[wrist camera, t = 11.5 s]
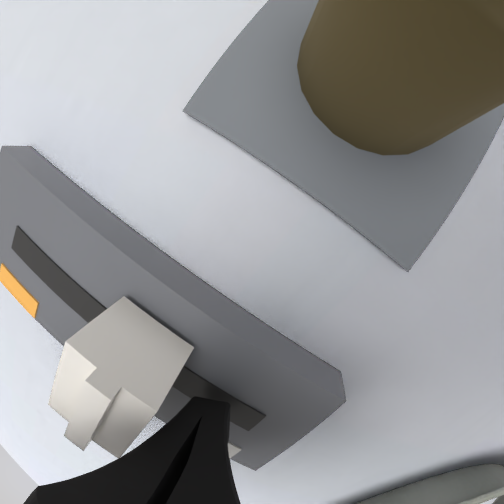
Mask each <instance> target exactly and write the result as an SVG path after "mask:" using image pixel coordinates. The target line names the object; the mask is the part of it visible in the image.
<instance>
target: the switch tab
mask: <svg viewBox="0 0 504 504" xmlns="http://www.w3.org/2000/svg"><path fill="white" fill-rule="evenodd" d="M193 349H194V347H193V346H192V345H190V344H189V343H187V342H186V341H184V340H183V339H181V338H180V337H179V336H177V335H176V334H174V333H173V332H171V331H170V330H169V329H167V328H166V327H164V326H163V325H162V324H160V323H159V322H158V321H156V320H155V319H154V318H152V317H151V316H150V315H148V314H147V313H146V312H144V311H143V310H142V309H140V308H139V307H138V306H136V305H135V304H134V303H132V302H131V301H130V300H129V299H127V298H126V297H125V296H123V297H122V298H121V299H119V300H118V301H117V302H115V303H114V304H113V305H112V306H110V307H109V308H108V309H106V310H105V311H104V312H102V313H101V314H100V315H98V316H97V317H96V318H95V319H93V320H92V321H91V322H89V323H88V324H87V325H86V326H84V327H83V328H82V329H80V330H79V331H78V332H77V333H75V334H74V335H73V336H72V337H70V338H69V339H68V340H66V342H65V345H64V348H63V351H62V355H61V358H60V361H59V365H58V368H57V372H56V375H55V379H54V383H53V387H52V390H51V394H50V399H49V403H48V405H49V406H50V407H51V408H52V409H54V410H55V411H56V412H57V413H58V414H59V415H61V416H62V417H63V418H64V419H65V420H67V421H68V422H69V423H68V426H67V429H66V431H65V434H64V436H65V437H66V438H67V439H68V440H70V441H71V442H72V443H74V444H75V445H76V446H78V447H79V448H80V449H82V450H83V451H84V450H85V448H86V447H87V446H88V444H89V443H90V442H91V440H92V441H94V442H95V443H97V444H98V445H99V446H101V447H102V448H104V449H105V450H107V451H108V452H110V453H111V454H113V455H114V456H116V457H117V458H120V457H121V456H122V454H123V453H124V452H125V451H126V450H127V448H128V447H129V446H130V445H131V443H132V442H133V441H134V440H135V439H136V437H137V436H138V435H139V434H140V432H141V431H142V430H143V429H144V427H145V426H146V425H147V424H148V422H149V421H150V420H151V419H152V418H153V416H154V415H155V414H156V413H157V411H158V409H159V408H160V406H161V404H162V403H163V401H164V399H165V397H166V396H167V394H168V392H169V390H170V389H171V387H172V385H173V383H174V382H175V380H176V378H177V376H178V375H179V373H180V371H181V370H182V368H183V366H184V364H185V363H186V361H187V359H188V357H189V356H190V354H191V352H192V351H193Z"/></svg>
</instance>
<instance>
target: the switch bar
mask: <svg viewBox="0 0 504 504" xmlns="http://www.w3.org/2000/svg"><path fill="white" fill-rule="evenodd" d="M0 281H1V282H2V284H3V285H4V286H5V287H6V288H7V289H8V290H9V292H10V293H11V294H12V295H13V296H14V297H15V298H16V299H17V301H18V302H19V303H20V304H21V305H22V306H23V307H24V308H25V309H26V310H27V311H28V312H29V313H30V314H31V315H32V316H33V318H35V319H36V320H37V321H38V322H39V323H40V324H41V325H42V326H43V327H44V328H45V329H46V330H47V331H48V332H49V333H50V334H51V335H52V336H53V337H54V338H55V339H56V340H58V341H59V342H60V343H61V344H62V345H63V346H64V345H65V342H66V340H68V339H69V338H70V337H72V336H73V335H74V334H75V333H77V332H78V331H79V330H80V329H82V328H83V327H84V326H86V325H87V324H88V323H89V322H91V321H92V320H93V319H95V318H96V317H97V316H98V315H100V314H101V313H102V312H104V311H105V310H106V309H108V308H109V307H110V306H112V305H113V304H114V303H115V302H117V301H118V300H119V299H121V298H122V297H123V296H125V297H126V298H127V299H129V300H130V301H131V302H132V303H134V304H135V305H136V306H138V307H139V308H140V309H142V310H143V311H144V312H146V313H147V314H148V315H150V316H151V317H152V318H154V319H155V320H156V321H158V322H159V323H160V324H162V325H163V326H164V327H166V328H167V329H169V330H170V331H171V332H173V333H174V334H176V335H177V336H179V337H180V338H181V339H183V340H184V341H186V342H187V343H189V344H190V345H192V346H193V347H194V349H193V351H192V352H191V354H190V356H189V357H188V359H187V361H186V363H185V364H184V366H183V368H182V370H181V371H180V373H179V375H178V376H177V378H176V380H175V382H174V383H173V385H172V387H171V389H170V390H169V392H168V394H167V396H166V397H165V399H164V401H163V403H162V404H161V406H160V408H159V409H158V411H157V413H156V414H155V415H154V416H155V417H157V418H159V419H160V420H162V421H163V422H165V423H166V424H167V423H168V422H169V421H170V420H171V419H172V418H173V417H174V416H175V415H176V414H177V413H178V412H179V411H180V410H181V409H182V408H183V407H184V406H185V405H186V404H187V403H188V402H189V401H190V400H191V399H192V398H193V397H194V396H197V397H202V398H207V399H212V400H218V401H224V402H228V403H229V404H230V405H231V408H230V430H229V441H228V452H229V459H232V460H234V461H236V462H238V463H240V464H242V465H244V466H246V467H249V468H251V469H253V470H255V471H256V470H257V469H259V468H260V467H262V466H263V465H265V464H266V463H268V462H269V461H271V460H272V459H274V458H275V457H276V456H278V455H279V454H281V453H282V452H283V451H285V450H286V449H288V448H289V447H290V446H292V445H293V444H294V443H296V442H297V441H298V440H300V439H301V438H302V437H304V436H305V435H306V434H307V433H309V432H310V431H311V430H313V429H314V428H315V427H316V426H318V425H319V424H320V423H321V422H322V421H324V420H325V419H326V418H327V417H329V416H330V415H331V414H332V413H333V412H334V411H336V410H337V409H338V408H339V407H340V406H341V405H342V404H344V403H345V402H346V397H345V392H344V386H343V381H342V376H341V372H340V371H339V370H337V369H335V368H334V367H332V366H331V365H329V364H327V363H326V362H324V361H322V360H321V359H319V358H318V357H316V356H315V355H313V354H311V353H310V352H308V351H307V350H305V349H303V348H302V347H300V346H299V345H297V344H296V343H294V342H293V341H291V340H289V339H288V338H286V337H285V336H283V335H282V334H280V333H279V332H277V331H276V330H274V329H273V328H271V327H270V326H268V325H267V324H265V323H264V322H262V321H261V320H259V319H258V318H256V317H255V316H253V315H252V314H250V313H249V312H247V311H246V310H244V309H243V308H241V307H240V306H238V305H237V304H235V303H234V302H233V301H231V300H230V299H228V298H227V297H225V296H224V295H222V294H221V293H220V292H218V291H217V290H215V289H214V288H212V287H211V286H210V285H208V284H207V283H205V282H204V281H203V280H201V279H200V278H198V277H197V276H195V275H194V274H193V273H191V272H190V271H189V270H187V269H186V268H184V267H183V266H182V265H180V264H179V263H177V262H176V261H175V260H173V259H172V258H171V257H169V256H168V255H167V254H165V253H164V252H162V251H161V250H160V249H158V248H157V247H156V246H154V245H153V244H152V243H150V242H149V241H148V240H146V239H145V238H144V237H142V236H141V235H140V234H138V233H137V232H136V231H134V230H133V229H132V228H131V227H129V226H128V225H127V224H125V223H124V222H123V221H121V220H120V219H119V218H118V217H116V216H115V215H114V214H112V213H111V212H110V211H109V210H107V209H106V208H105V207H104V206H102V205H101V204H100V203H98V202H97V201H96V200H95V199H93V198H92V197H91V196H90V195H88V194H87V193H86V192H85V191H84V190H82V189H81V188H80V187H79V186H77V185H76V184H75V183H74V182H72V181H71V180H70V179H69V178H68V177H66V176H65V175H64V174H63V173H62V172H60V171H59V170H58V169H57V168H56V167H54V166H53V165H52V164H51V163H50V162H48V161H47V160H46V159H45V158H44V157H43V156H41V155H40V154H39V153H38V152H37V151H36V150H34V149H33V148H32V147H31V146H2V148H1V151H0Z"/></svg>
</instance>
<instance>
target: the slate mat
mask: <svg viewBox="0 0 504 504" xmlns="http://www.w3.org/2000/svg"><path fill="white" fill-rule="evenodd" d="M318 1H319V0H269V1H268V2H267V3H266V4H265V5H264V6H263V7H262V8H261V9H260V11H259V12H258V13H257V14H256V15H255V16H254V17H253V19H252V20H251V21H250V22H249V23H248V24H247V26H246V27H245V28H244V29H243V30H242V31H241V33H240V34H239V35H238V36H237V38H236V39H235V40H234V41H233V42H232V44H231V45H230V46H229V47H228V49H227V50H226V51H225V53H224V54H223V55H222V56H221V58H220V59H219V60H218V62H217V63H216V64H215V66H214V67H213V68H212V70H211V71H210V72H209V74H208V75H207V76H206V78H205V79H204V81H203V82H202V83H201V85H200V86H199V88H198V89H197V90H196V92H195V93H194V95H193V96H192V98H191V99H190V101H189V102H188V104H187V105H186V107H185V108H184V109H183V112H185V113H187V114H188V115H190V116H192V117H193V118H195V119H197V120H198V121H200V122H201V123H203V124H205V125H206V126H208V127H210V128H211V129H213V130H214V131H216V132H218V133H219V134H221V135H222V136H224V137H226V138H227V139H229V140H230V141H232V142H233V143H235V144H236V145H238V146H240V147H241V148H243V149H244V150H246V151H247V152H249V153H250V154H252V155H253V156H255V157H256V158H258V159H259V160H261V161H262V162H264V163H265V164H267V165H268V166H270V167H271V168H272V169H274V170H275V171H277V172H278V173H280V174H281V175H283V176H284V177H285V178H287V179H288V180H290V181H291V182H293V183H294V184H295V185H297V186H298V187H300V188H301V189H302V190H304V191H305V192H307V193H308V194H309V195H311V196H312V197H313V198H315V199H316V200H317V201H319V202H320V203H322V204H323V205H324V206H326V207H327V208H328V209H330V210H331V211H332V212H334V213H335V214H336V215H338V216H339V217H340V218H341V219H343V220H344V221H345V222H347V223H348V224H349V225H351V226H352V227H353V228H354V229H356V230H357V231H358V232H359V233H361V234H362V235H363V236H365V237H366V238H367V239H368V240H370V241H371V242H372V243H373V244H375V245H376V246H377V247H378V248H379V249H381V250H382V251H383V252H384V253H386V254H387V255H388V256H389V257H390V258H392V259H393V260H394V261H395V262H396V263H398V264H399V265H400V266H401V267H402V268H404V269H405V270H406V271H407V272H408V271H409V270H410V269H411V267H412V266H413V265H414V264H415V262H416V261H417V260H418V258H419V257H420V255H421V254H422V253H423V251H424V250H425V249H426V247H427V246H428V244H429V243H430V242H431V240H432V239H433V237H434V236H435V235H436V233H437V232H438V230H439V229H440V227H441V226H442V224H443V223H444V221H445V220H446V218H447V217H448V215H449V214H450V212H451V211H452V209H453V208H454V206H455V204H456V203H457V201H458V200H459V198H460V197H461V195H462V193H463V192H464V190H465V188H466V187H467V185H468V183H469V182H470V180H471V178H472V177H473V175H474V173H475V171H476V170H477V168H478V166H479V164H480V163H481V161H482V159H483V157H484V155H485V153H486V152H487V150H488V148H489V146H490V144H491V142H492V140H493V138H494V136H495V134H496V132H497V130H498V128H499V126H500V124H501V122H502V120H503V118H504V103H503V104H502V105H500V106H498V107H496V108H495V109H493V110H491V111H489V112H487V113H486V114H484V115H482V116H480V117H479V118H477V119H475V120H473V121H472V122H470V123H468V124H466V125H465V126H463V127H461V128H459V129H458V130H456V131H454V132H452V133H451V134H449V135H447V136H445V137H443V138H442V139H440V140H438V141H436V142H435V143H433V144H431V145H429V146H427V147H425V148H422V149H420V150H418V151H415V152H413V153H410V154H408V155H384V156H383V155H380V154H376V153H373V152H369V151H365V150H361V149H358V148H356V147H354V146H353V145H351V144H349V143H348V142H346V141H344V140H343V139H341V138H339V137H338V136H336V135H334V134H333V133H332V132H331V131H330V130H329V129H328V128H327V127H326V126H325V125H324V124H323V123H322V122H321V120H320V119H319V118H318V117H317V116H316V115H315V114H314V113H313V111H312V109H311V107H310V105H309V103H308V102H307V100H306V98H305V96H304V94H303V92H302V91H301V86H300V80H299V75H298V69H297V62H298V57H299V51H300V46H301V42H302V40H303V37H304V35H305V32H306V30H307V27H308V25H309V22H310V20H311V18H312V15H313V13H314V10H315V8H316V6H317V3H318Z"/></svg>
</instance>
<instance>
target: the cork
mask: <svg viewBox="0 0 504 504" xmlns="http://www.w3.org/2000/svg"><path fill="white" fill-rule="evenodd" d="M297 69H298V75H299V80H300V86H301V91H302V92H303V94H304V96H305V98H306V100H307V102H308V103H309V105H310V107H311V109H312V111H313V113H314V114H315V115H316V116H317V117H318V118H319V119H320V120H321V122H322V123H323V124H324V125H325V126H326V127H327V128H328V129H329V130H330V131H331V132H332V133H333V134H334V135H336V136H338V137H339V138H341V139H343V140H344V141H346V142H348V143H349V144H351V145H353V146H354V147H356V148H358V149H361V150H365V151H369V152H373V153H376V154H380V155H383V156H384V155H408V154H410V153H413V152H415V151H418V150H420V149H422V148H425V147H427V146H429V145H431V144H433V143H435V142H436V141H438V140H440V139H442V138H443V137H445V136H447V135H449V134H451V133H452V132H454V131H456V130H458V129H459V128H461V127H463V126H465V125H466V124H468V123H470V122H472V121H473V120H475V119H477V118H479V117H480V116H482V115H484V114H486V113H487V112H489V111H491V110H493V109H495V108H496V107H498V106H500V105H502V104H503V103H504V0H319V1H318V3H317V6H316V8H315V10H314V13H313V15H312V18H311V20H310V22H309V25H308V27H307V30H306V32H305V35H304V37H303V40H302V42H301V46H300V51H299V57H298V62H297Z"/></svg>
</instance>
